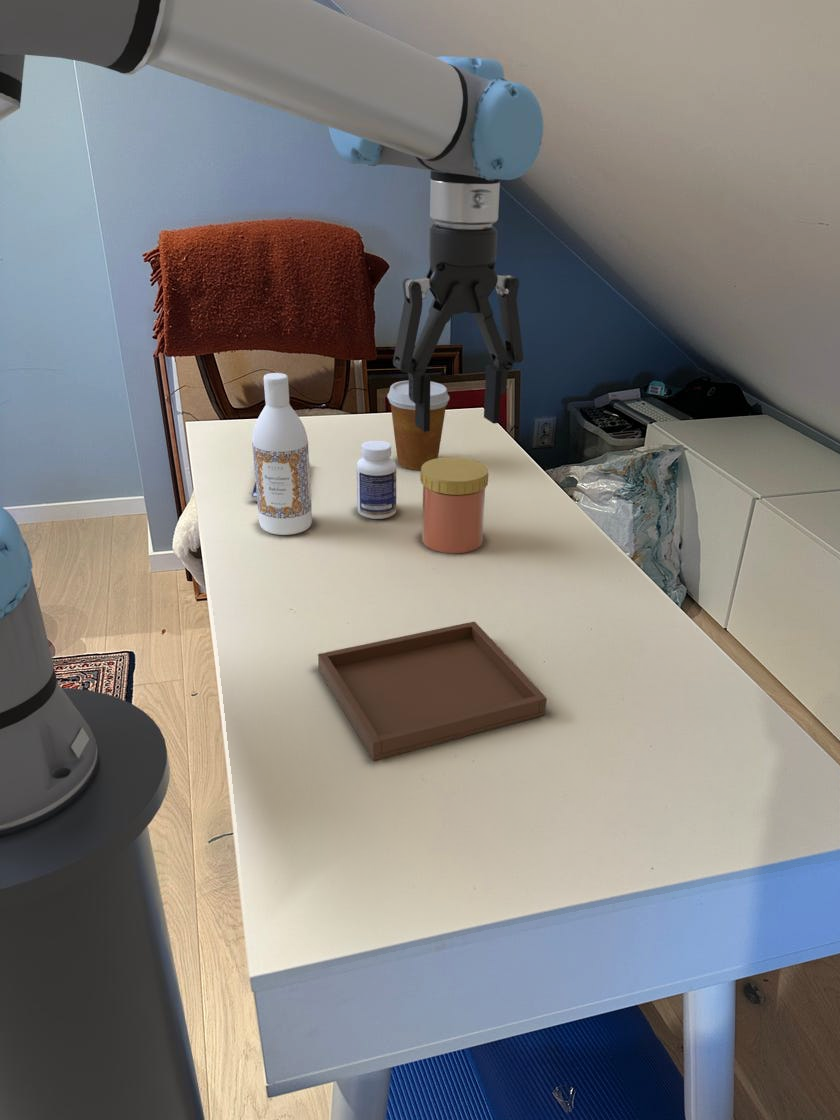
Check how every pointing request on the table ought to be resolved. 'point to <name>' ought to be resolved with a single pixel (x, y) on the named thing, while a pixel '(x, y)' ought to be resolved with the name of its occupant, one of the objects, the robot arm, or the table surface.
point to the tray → (428, 688)
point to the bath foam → (281, 462)
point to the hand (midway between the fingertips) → (457, 423)
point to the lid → (454, 475)
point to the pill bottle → (376, 481)
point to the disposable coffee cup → (408, 437)
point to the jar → (452, 521)
